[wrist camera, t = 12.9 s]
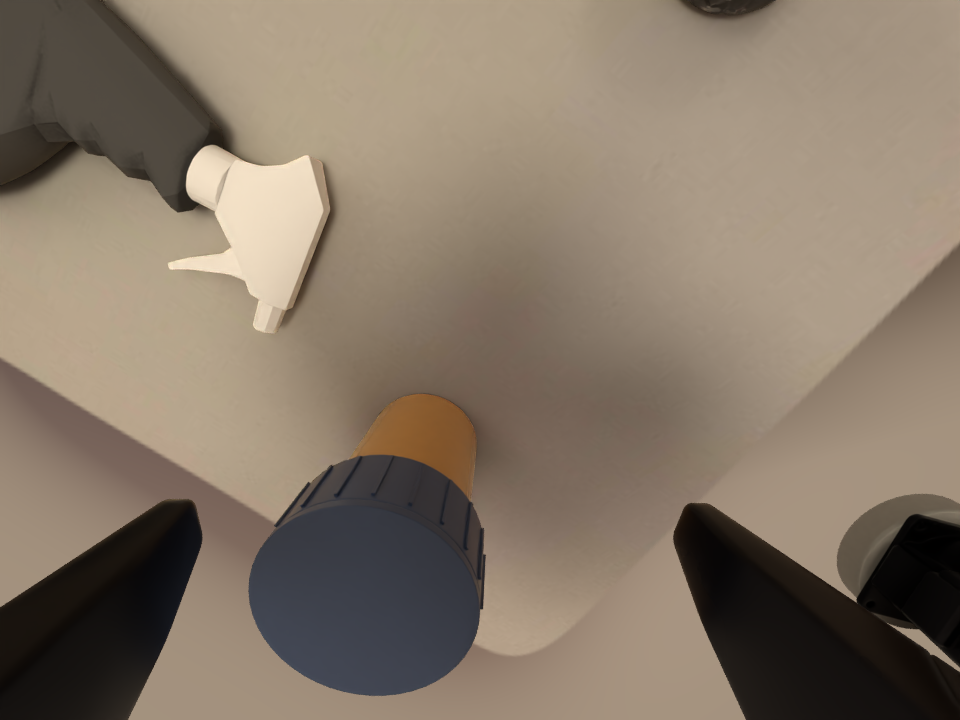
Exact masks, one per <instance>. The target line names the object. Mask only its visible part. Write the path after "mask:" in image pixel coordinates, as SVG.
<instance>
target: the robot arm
mask: <svg viewBox="0 0 960 720" xmlns="http://www.w3.org/2000/svg"><path fill="white" fill-rule="evenodd" d="M673 540H674V545H675V549H676V551H677V554H678V557H679V560H680V563H681V566H682V569H683V571H684V574H685V577H686V580H687V583H688V586H689V588H690V591H691V594H692V597H693V600H694V602H695V605H696V608H697V611H698V613H699V616H700V619H701V621H702V624H703V626H704V628H705V631H706V633H707V635H708V638H709V640H710V642H711V644H712V647H713V649H714V651H715V653H716V655H717V657H718V660H719V662H720V664H721V666H722V668H723V671H724V673H725V675H726V677H727V679H728V681H729V684H730V686H731V688H732V690H733V692H734V694H735V697H736V699H737V701H738V703H739V705H740V708H741V710H742V712H743V714H744V716H745V719H746V720H960V672H959V671H957V670H955V669H954V668H953V667H951V666H950V665H948V664H947V663H945V662H944V661H942V660H941V659H939V658H938V657H936V656H935V655H930V653H929V652H928V651H927V650H926V649H924V648H923V647H921V646H920V645H918V644H917V643H915V642H914V641H912V640H911V639H909V638H908V637H907V636H905V635H904V634H902V633H901V632H899V631H897V630H896V629H895V628H893V627H892V626H890V625H889V624H887V623H886V622H884V621H883V620H881V619H880V618H878V617H877V616H875V615H874V614H872V613H876V614H879V615H883V616H887V617H891V618H895V619H898V620H902V621H906V622H910V623H913V624H914V625H915V626H916V627H917V628H918V629H919V630H920V631H922V632H923V633H924V634H925V635H926V636H927V637H928V638H929V639H930V640H931V641H932V642H933V643H934V644H935V645H936V646H938V647H939V648H940V649H941V650H942V651H943V652H944V653H945V654H946V655H947V656H948V657H949V658H950V659H951V660H952V661H954V663H956V664H957V665H958V666H959V667H960V525H958V524H954V523H950V522H946V521H943V520H939V519H935V518H932V517H928V516H924V515H921V514H913V515H911V516H909V517H908V518H907V519H906V521H905V522H904V524H903V525H902V527H901V528H900V530H899V532H898V533H897V535H896V536H895V538H894V540H893V541H892V543H891V544H890V546H889V547H888V549H887V551H886V552H885V554H884V555H883V557H882V559H881V560H880V562H879V563H878V565H877V566H876V568H875V570H874V571H873V573H872V574H871V576H870V578H869V579H868V581H867V582H866V584H865V585H864V587H863V589H862V590H861V592H860V593H859V595H858V596H857V599H856V601H857V603H858V604H857V603H856V602H854V601H853V600H852V599H850V598H849V597H847V596H846V595H844V594H843V593H841V592H840V591H838V590H837V589H835V588H834V587H832V586H831V585H829V584H827V583H826V582H825V581H823V580H822V579H820V578H819V577H817V576H816V575H814V574H813V573H811V572H810V571H808V570H807V569H805V568H804V567H802V566H801V565H799V564H798V563H796V562H795V561H793V560H792V559H790V558H789V557H788V556H786V555H785V554H783V553H782V552H780V551H779V550H777V549H776V548H774V547H773V546H771V545H770V544H768V543H767V542H765V541H764V540H762V539H761V538H759V537H758V536H756V535H755V534H753V533H752V532H750V531H749V530H747V529H746V528H744V527H743V526H741V525H740V524H738V523H737V522H736V521H734V520H732V519H731V518H730V517H728V516H727V515H725V514H724V513H722V512H721V511H719V510H717V509H716V508H715V507H713V506H712V505H710V504H706V503H689V504H687V505H686V506H685V507H684V509H683V511H682V514H681V516H680V519H679V521H678V523H677V526H676V528H675V531H674V536H673ZM201 544H202V530H201V526H200V522H199V517H198V513H197V509H196V505H195V503H194V502H193V501H192V500H189V499H167V500H164V501H162V502H160V503H158V504H157V505H155V506H154V507H152V508H151V509H149V510H148V511H146V512H145V513H143V514H142V515H140V516H139V517H137V518H136V519H134V520H132V521H131V522H129V523H128V524H126V525H125V526H123V527H122V528H120V529H119V530H117V531H116V532H114V533H113V534H111V535H110V536H108V537H107V538H105V539H104V540H102V541H101V542H99V543H97V544H96V545H94V546H93V547H92V548H90V549H89V550H87V551H85V552H84V553H82V554H81V555H79V556H78V557H76V558H75V559H73V560H72V561H70V562H69V563H67V564H65V565H64V566H62V567H61V568H60V569H58V570H56V571H55V572H53V573H52V574H50V575H49V576H47V577H46V578H44V579H43V580H41V581H40V582H38V583H37V584H35V585H34V586H32V587H31V588H29V589H28V590H26V591H25V592H23V593H21V594H20V595H18V596H17V597H15V598H14V599H12V600H11V601H9V602H8V603H6V604H5V605H3V606H2V607H0V720H128V718H129V716H130V714H131V712H132V710H133V708H134V706H135V704H136V702H137V700H138V698H139V696H140V694H141V691H142V690H143V688H144V686H145V683H146V682H147V679H148V677H149V675H150V673H151V671H152V669H153V667H154V665H155V663H156V661H157V659H158V657H159V655H160V652H161V650H162V648H163V646H164V644H165V642H166V639H167V636H168V634H169V632H170V629H171V627H172V624H173V621H174V619H175V616H176V613H177V610H178V608H179V605H180V602H181V600H182V597H183V594H184V592H185V589H186V586H187V583H188V581H189V578H190V575H191V572H192V570H193V567H194V564H195V562H196V559H197V556H198V553H199V551H200V548H201ZM871 612H872V613H871Z"/></svg>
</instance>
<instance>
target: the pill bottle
mask: <svg viewBox="0 0 960 720" xmlns="http://www.w3.org/2000/svg"><path fill="white" fill-rule="evenodd" d="M687 1H689V2H690V3H692V4H693V5H694V6H696V7H698V8H700V9H703V10H705V11H707V12H709V13H713V14H727V15H736V14H741V13H747V12H751V11H754V10H757V9H760V8H762V7H764V6H766V5H768V4H770V3H772V2H774V1H776V0H687Z"/></svg>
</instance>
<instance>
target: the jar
mask: <svg viewBox="0 0 960 720" xmlns="http://www.w3.org/2000/svg"><path fill="white" fill-rule="evenodd" d="M476 451H477V440H476V434H475V431H474V428H473V426H472V424H471V422H470V420H469V419H468V417H467V416H466V414H465V413H464V412H463V411H462V410H461V409H460V408H458V407H457V406H456V405H455V404H453V403H451V402H450V401H448V400H446V399H444V398H441V397H438V396H434V395H430V394H413V395H408V396H404V397H401V398H399V399H397V400H395V401H393V402H392V403H390V404H389V405H388V406H386V407H385V408H384V409H383V410H382V412H381V413H380V414H379V416H378V417H377V419H376V420H375V421H374V423H373V424H372V426H371V427H370V429H369V430H368V432H367V433H366V435H365V436H364V438H363V439H362V441H361V442H360V443H359V445H358V446H357V448H356V449H355V451H354V452H353V454H352V455H351V457H350V458H349V459H352V458H355V457H358V456H367V455H394V456H400V457H405V458H409V459H412V460H416V461H419V462H422V463H424V464H426V465H428V466H430V467H432V468H434V469H436V470H437V471H439V472H441V473H442V474H444V475H445V476H446V477H448V478H449V479H451V480H452V481H453V482H454V483H455V484H456V485H457V486H458V487H459V488H460V489H461V490H462V491H463V492H464V494H465V495H466V496H467V498H468V499H469V500H470V502H471V495H472V486H473V477H474V469H475V460H476Z"/></svg>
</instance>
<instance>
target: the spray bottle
mask: <svg viewBox="0 0 960 720" xmlns="http://www.w3.org/2000/svg"><path fill="white" fill-rule="evenodd" d="M69 142H76V143H77V144H78V145H79V146H80V147H81V148H83V149H84V150H85V151H86V152H87V153H88V154H94V155H99V156H106V157H107V158H109V159H110V160H111V161H112V162H113V163H114V164H115V165H116V166H117V167H118V168H119V169H120V170H121V171H122V172H123V173H124V174H125V175H126V176H127V177H132V178H138V179H143V180H149V181H151V182H152V183H153V185H154V186H155V187H156V189H157V190H158V192H159V193H160V195H161V196H162V198H163V199H164V200H165V201H166V202H167V203H168V205H169V206H170V207H171V208H173V209H174V210H175V211H176V212H184V211H190V210H193V209H195V208H196V207H197V206H198V205H199V204H201V205H203V206H205V207H207V208H209V209H211V210H213V211H215V215H216V217H217V219H218V221H219V223H220V225H221V227H222V229H223V231H224V233H225V235H226V237H227V239H228V241H229V244H230V246H231V248H229V249H228V250H226V251H225V252H223V253H220V254H212V255H205V256H198V257H191V258H185V259H181V260H177V261H173V262H169V263H168V266H169V269H170V270H176V269H187V270H200V271H208V272H216V273H224V274H228V275H231V276H234V277H237V278H239V279H242V280H245V282H246V285H247V288H248V291H249V293H250V294H251V295H252V296H254V297H256V298H257V299H259V302H258V306H257V310H256V314H255V318H254V322H253V326H254V327H255V329H257V330H259V331H262V332H264V333H271V334H274V333H276V332H278V329H279V327H280V324H281V322H282V319H283V317H284V314H285V312H286V310H288V309H291V308H293V305H294V302H295V300H296V297H297V295H298V292H299V289H300V287H301V284H302V282H303V279H304V277H305V274H306V271H307V269H308V266H309V264H310V261H311V259H312V256H313V253H314V251H315V248H316V246H317V243H318V241H319V238H320V235H321V233H322V230H323V228H324V225H325V223H326V220H327V217H328V215H329V212H330V205H329V199H328V193H327V188H326V182H325V176H324V171H323V165H322V162H321V161H319V160H317V159H315V158H312V157H310V156H307V155H305V156H303V157H300V158H298V159H296V160H294V161H291V162H289V163H287V164H284V165H273V166H259V165H255V164H251V163H248V162H245V161H243V160H242V159H240V158H238V157H236V156H234V155H233V154H231V153H229V152H227V151H225V150H224V149H222V146H223V135H222V130H221V129H220V127H219V126H218V125H217V124H216V123H215V122H214V121H213V120H212V118H211V117H210V116H209V115H208V114H207V113H206V112H205V111H204V110H203V108H202V107H201V106H200V105H199V104H198V103H197V102H196V101H195V100H194V98H193V97H192V96H191V95H190V94H189V93H188V92H187V91H186V89H185V88H184V87H183V86H182V85H181V84H180V83H179V82H178V81H177V79H176V78H175V77H174V76H173V75H172V74H171V73H170V72H169V70H168V69H167V68H166V67H165V66H164V65H163V64H162V63H161V62H160V60H159V59H158V58H157V57H156V56H155V55H154V54H153V53H152V52H151V50H150V49H149V48H148V47H147V46H146V45H145V44H144V43H143V41H142V40H141V39H140V38H139V37H138V36H137V35H136V34H135V33H134V32H133V31H132V30H131V29H130V28H129V27H128V26H127V25H126V24H125V23H123V22H122V21H121V20H120V19H119V18H118V17H117V16H116V15H115V14H114V13H113V12H112V11H111V10H110V9H109V8H108V7H107V6H106V5H105V4H103V3H102V2H101V1H100V0H0V186H1V185H3V184H5V183H8V182H10V181H12V180H14V179H16V178H18V177H20V176H22V175H25V174H27V173H29V172H31V171H33V170H34V169H35V168H37V167H38V166H40V165H41V164H42V163H44V162H45V161H46V160H48V159H49V158H51V157H52V156H53V155H55V154H56V153H57V152H59V151H60V150H61V149H62V148H63V147H64V146H65V145H67V144H68V143H69Z"/></svg>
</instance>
